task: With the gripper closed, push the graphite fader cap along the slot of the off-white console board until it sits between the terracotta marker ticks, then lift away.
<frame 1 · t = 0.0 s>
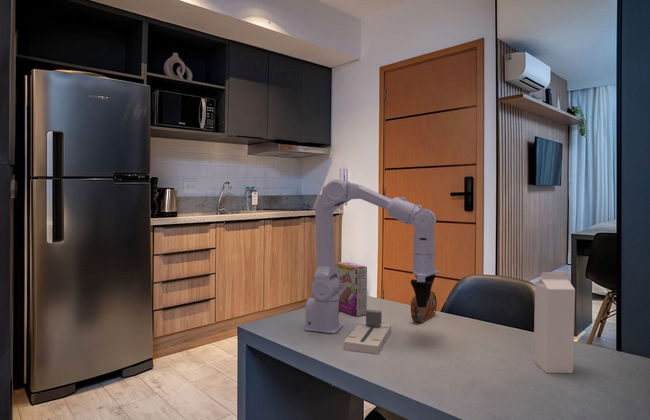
hand: (423, 303, 111), 10 cm above the table, fingers open, 7 cm apart
candy bar box: (350, 313, 138), on the table
milk: (552, 368, 94), on the table
fader: (373, 318, 117), point 4 cm above the table, slide at 0.0 cm
tin: (423, 319, 131), on the table
console: (368, 339, 111), on the table
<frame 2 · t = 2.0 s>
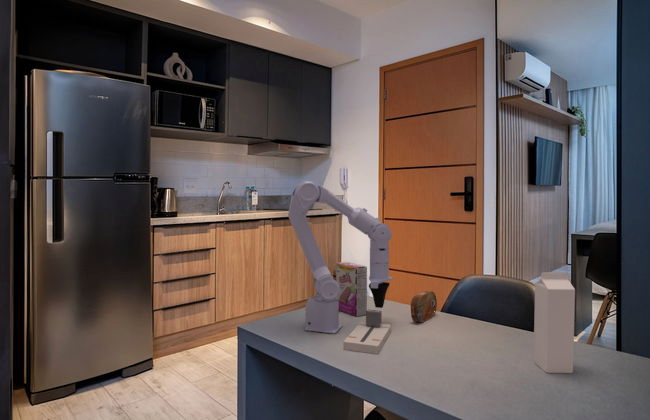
hand: (379, 307, 124), 6 cm above the table, fingers closed
nothing on the table moved.
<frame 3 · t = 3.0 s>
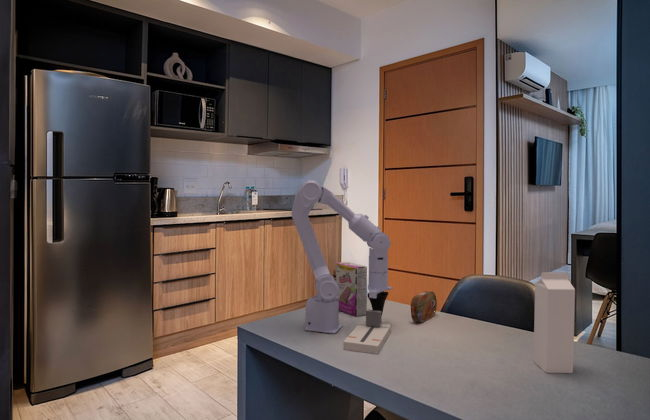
hand: (377, 316, 122), 3 cm above the table, fingers closed
nothing on the table moved.
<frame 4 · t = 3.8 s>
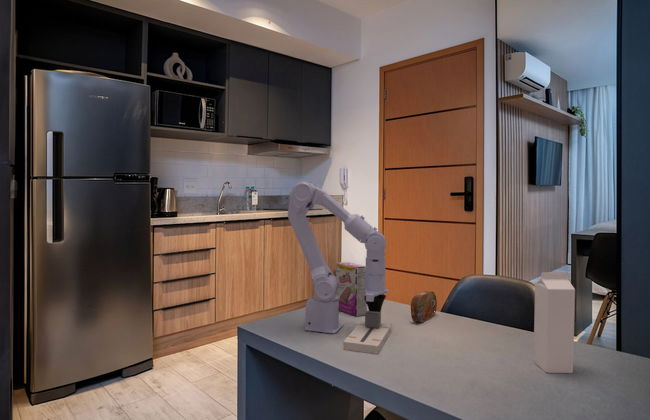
hand: (374, 320, 119), 3 cm above the table, fingers closed
fader: (372, 319, 116), point 4 cm above the table, slide at 1.0 cm, touching gripper
everything else where it was.
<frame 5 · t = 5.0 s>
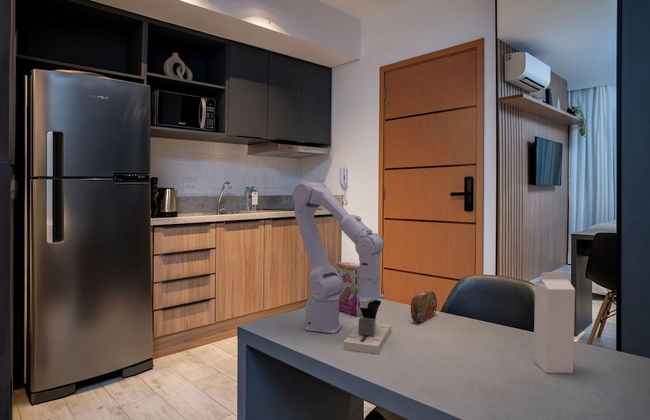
hand: (369, 327, 112), 3 cm above the table, fingers closed
fader: (367, 326, 109), point 4 cm above the table, slide at 8.0 cm, touching gripper
everything else where it was.
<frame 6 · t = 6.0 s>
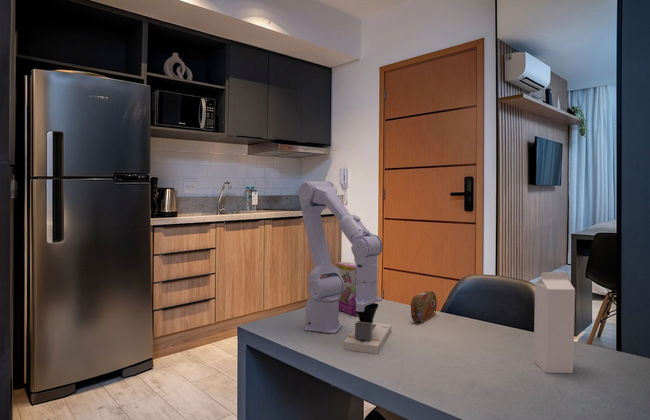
hand: (366, 331, 109), 3 cm above the table, fingers closed
fader: (363, 330, 106), point 4 cm above the table, slide at 11.5 cm, touching gripper
everything else where it was.
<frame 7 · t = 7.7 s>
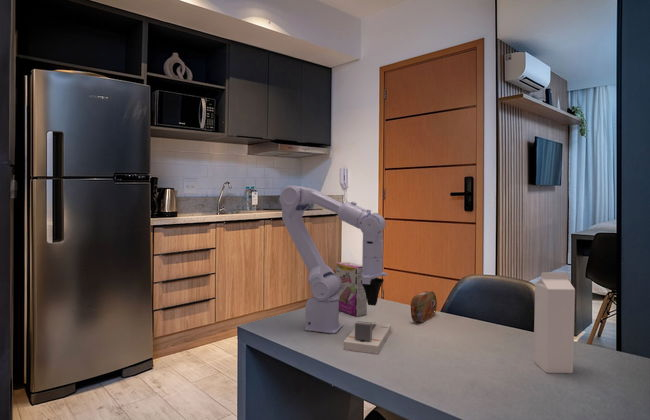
hand: (372, 304, 115), 9 cm above the table, fingers closed
fader: (363, 330, 106), point 4 cm above the table, slide at 11.7 cm
everything else where it was.
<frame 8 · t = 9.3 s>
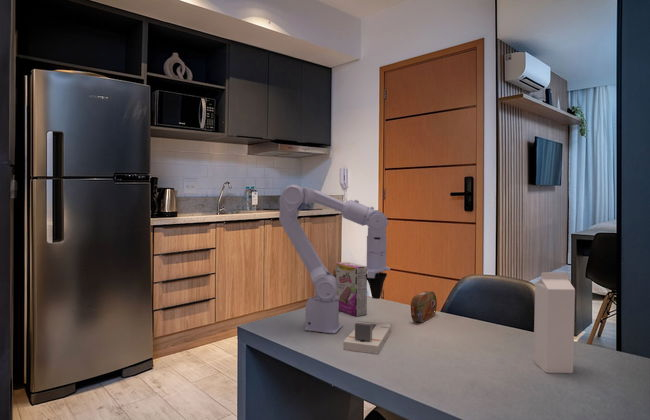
hand: (376, 298, 120), 9 cm above the table, fingers closed
nothing on the table moved.
at the end: fader slide at 11.7 cm; fader 0.7 cm from the target spot on the console, point 4.3 cm above the console's base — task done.
